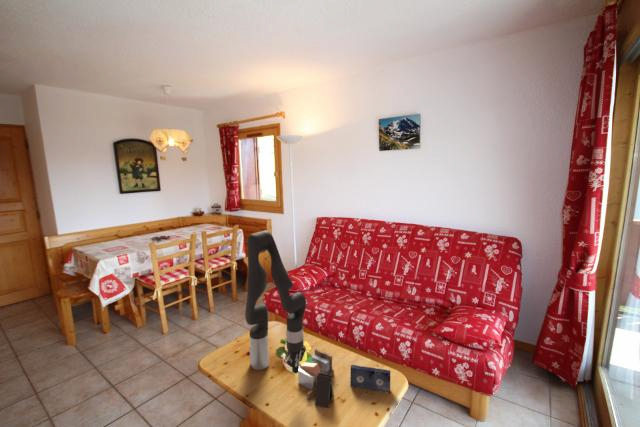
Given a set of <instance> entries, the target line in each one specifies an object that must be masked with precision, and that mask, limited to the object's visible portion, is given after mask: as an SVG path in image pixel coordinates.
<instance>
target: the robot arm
mask: <svg viewBox="0 0 640 427" xmlns="http://www.w3.org/2000/svg"><path fill="white" fill-rule="evenodd" d="M246 246H247V247H246V250H247V283H246V284H247V286H246V287H247V288H246V290H247V292H246V295H247V296H246V304H245V313H244V314H245V316H244V317H245V322H246V324H247V325H249V326H252V327H251V328H250V329H249V343H250V344H249V345H250V347H249V350H248V351H249V363H250V364H249V365H251V368H252V369H253V370H256V371H262V370H265V369H267V368H268V367H269V365H270V350H269V310H268V306H267V305H266V304H265V303H263V302H262V303H258V304H257V302H258V300H259V299H260V298H261V296H262V295H263V293H264V292H265V290H266V288H267V282H268V281H267V280H268V274H267V271H266V269H265V267H264V266H263V265H262V264H261V262H260V258H259V257H260V253H262V252H266V251H267V252H268V254H269V256H270V265H271V266H270V275H271V280H272V281H273V283H274V285H275V287H276V288H277V291H278V294H279V299H280V303H281V307H282V309H283V311H284V312H285V313H287V314H288V315H287V317H286V330H285V331H286V332H285V333H286V334H285V336H286V338H285V339H286V342H285V343H286V349H287V358H285V359H284V360H283V362H284V363H285V364H286V365H287V366H289V367H291V369H292V370H291V371H292V373H294V374H295V375H296V374H298V370H299V369H300V365H301V364H300V362H302V361H303V359H304V356H305V352H306V350H307V348H306V347H304V343H305V342H304V338H305V336H304V325H303V324H304V323H303V322H304V316H305V312H306V306H307V299H306V296H305V294H303V293H302V292H301V291H298V292H294V293H292V294H290V290H292V289H293V287H294V283H293V281H292V279H291V277H290V275H289V273H288V271H287V269H286V268H285V266H284V262H283V260H282V258H281V255H280V252H279V249H278V247H277V244H276V241H275V239H274V236H273V234H272V232H270V231H269V230H266V229H265V230H261V231H258V232H253V233H250V234H249V235H248V237H247V238H246Z"/></svg>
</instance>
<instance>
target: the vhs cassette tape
mask: <svg viewBox="0 0 640 427" xmlns="http://www.w3.org/2000/svg"><path fill="white" fill-rule="evenodd" d="M349 379H350V385H349V386H350V387H351V388H357V389H362V390H370V391H375V392H380V391H381V392H380V393H386V392H390V393H391V370H388V369H384V368H383V369H382V368H377V367H376V368H375V367H371V366H370V367H368V366H362V365H361V366H360V365H355V364H351V365H350V378H349Z"/></svg>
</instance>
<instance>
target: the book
mask: <svg viewBox="0 0 640 427" xmlns="http://www.w3.org/2000/svg"><path fill="white" fill-rule="evenodd" d="M300 368H302V369H304V370H306V371H308V372H311V373H313V374H315V375H316V384H317V375H318V373H321V372H320V368H319V365H318V364H317V363H312V362H306V361H304V362H302V363H301V364H299V369H300Z"/></svg>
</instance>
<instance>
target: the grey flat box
mask: <svg viewBox="0 0 640 427" xmlns="http://www.w3.org/2000/svg"><path fill="white" fill-rule="evenodd" d="M297 374H298V377H297V378H298V384H300V385H301V386H303V387H306V388H307V389H309V391H310V390H311V389H312V388H313V387H314V386H315V385H316V375H315V374H313V373H311V372H308V371H306V370H304V369H302V368H300V367H299V370H298V373H297Z"/></svg>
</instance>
